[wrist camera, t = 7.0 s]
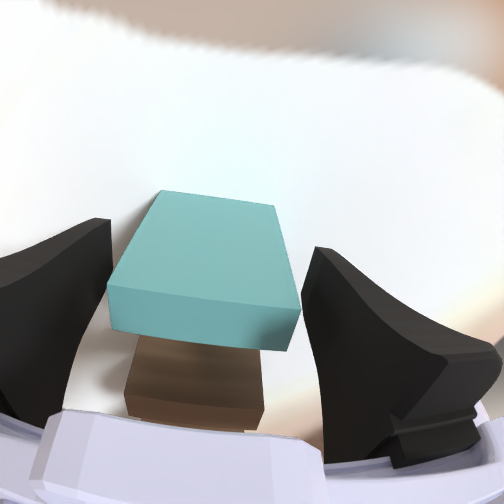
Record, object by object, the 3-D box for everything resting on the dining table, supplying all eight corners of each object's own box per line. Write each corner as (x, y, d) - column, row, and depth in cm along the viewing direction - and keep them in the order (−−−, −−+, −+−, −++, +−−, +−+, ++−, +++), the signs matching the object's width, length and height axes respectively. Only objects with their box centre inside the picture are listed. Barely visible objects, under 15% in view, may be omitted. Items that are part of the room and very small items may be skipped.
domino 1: (161, 190, 14) (106, 284, 8) (274, 205, 14) (301, 309, 8) (159, 223, 14) (111, 329, 8) (267, 237, 15) (286, 351, 9)
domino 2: (157, 280, 16) (123, 393, 10) (255, 292, 17) (264, 409, 11) (157, 304, 17) (128, 415, 11) (249, 316, 17) (256, 430, 11)
